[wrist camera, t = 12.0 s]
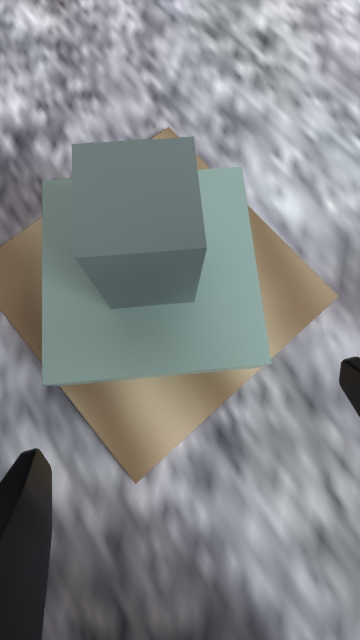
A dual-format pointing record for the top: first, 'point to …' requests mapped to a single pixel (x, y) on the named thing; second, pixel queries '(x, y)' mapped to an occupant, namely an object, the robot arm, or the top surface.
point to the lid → (147, 267)
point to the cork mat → (171, 391)
